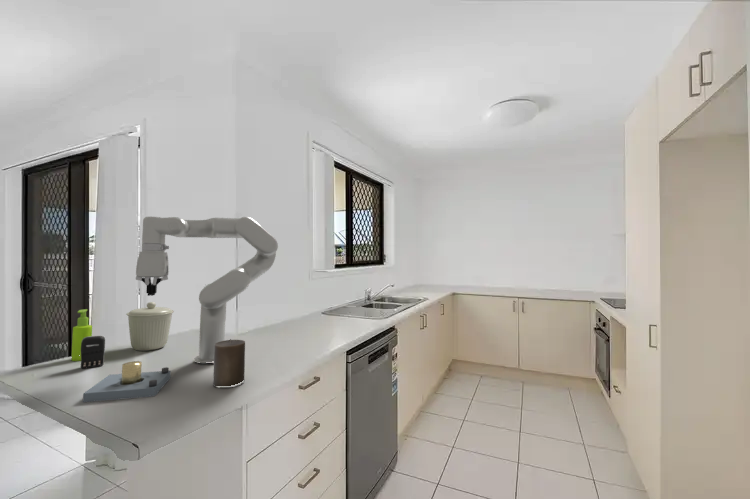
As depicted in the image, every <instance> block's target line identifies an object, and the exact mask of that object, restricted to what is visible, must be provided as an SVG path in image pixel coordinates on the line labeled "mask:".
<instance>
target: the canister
mask: <svg viewBox="0 0 750 499" xmlns="http://www.w3.org/2000/svg"><path fill="white" fill-rule="evenodd" d="M156 305H157V304H156V302H155V301H150V302H147V303H146V307H140V308H135V309H131V310H130V311H129V312H127V313H126V314H125V315H126V317H127V318H128V329H129V332H128V333H129V340H130V346H131V348H132V349H133V350H134V351H137V352H138V351H139V352H141V351H142V352H147V351H154V350H158V349H162V348H163V347H165V346H167V343H168V339H169V334H170V330H171V329H170V328H171V322H172V315H173V313H174V312H175V310H173V309H171V308H169V307H164V306H163V307H161V306H156Z"/></svg>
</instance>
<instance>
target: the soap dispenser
mask: <svg viewBox="0 0 750 499" xmlns="http://www.w3.org/2000/svg"><path fill="white" fill-rule="evenodd" d="M87 311H88V309H87V308H85V309H84V308H83V309H79V310H78V311H77V314H80V316H79V317H78V318H77V325H75V326H73V327H72V336H71V338H72V341H71V342H72V343H71V356H70V357H72V358H71V362H81V342H82V340H83V338H85V337H89V336H93V325H91V324H89V321H90V320H89V317H88V316H87ZM79 355H80V356H79Z"/></svg>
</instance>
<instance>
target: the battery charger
mask: <svg viewBox="0 0 750 499" xmlns="http://www.w3.org/2000/svg"><path fill="white" fill-rule="evenodd" d="M105 350H106V337H105V336H104V335H92V336H89V337H85V338H83V340H82V342H81V361H80V368H81V369H89V368H90V369H91V368H97V367H102V366H103V365H104V364H105V353H106V352H105Z"/></svg>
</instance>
